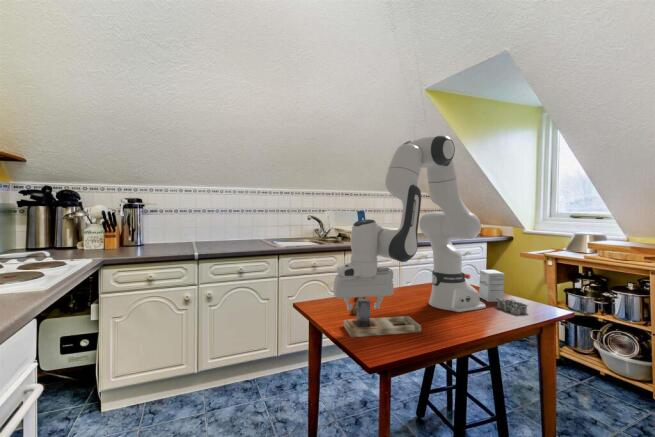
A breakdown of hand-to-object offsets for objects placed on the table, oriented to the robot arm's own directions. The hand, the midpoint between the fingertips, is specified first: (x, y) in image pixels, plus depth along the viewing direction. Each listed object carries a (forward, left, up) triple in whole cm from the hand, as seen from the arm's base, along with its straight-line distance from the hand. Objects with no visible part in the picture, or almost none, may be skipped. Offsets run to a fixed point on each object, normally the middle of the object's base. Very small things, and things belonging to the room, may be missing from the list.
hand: (363, 309), depth 114 cm
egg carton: (-65, -10, -8) cm, 66 cm away
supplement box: (-66, -24, -7) cm, 71 cm away
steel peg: (0, 0, -7) cm, 7 cm away
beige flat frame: (-6, 0, -7) cm, 10 cm away
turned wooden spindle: (-8, -29, -8) cm, 31 cm away
